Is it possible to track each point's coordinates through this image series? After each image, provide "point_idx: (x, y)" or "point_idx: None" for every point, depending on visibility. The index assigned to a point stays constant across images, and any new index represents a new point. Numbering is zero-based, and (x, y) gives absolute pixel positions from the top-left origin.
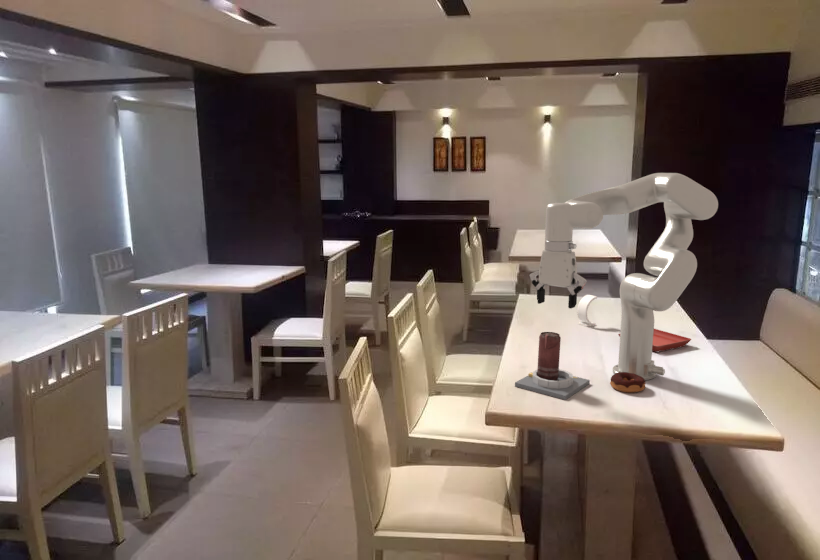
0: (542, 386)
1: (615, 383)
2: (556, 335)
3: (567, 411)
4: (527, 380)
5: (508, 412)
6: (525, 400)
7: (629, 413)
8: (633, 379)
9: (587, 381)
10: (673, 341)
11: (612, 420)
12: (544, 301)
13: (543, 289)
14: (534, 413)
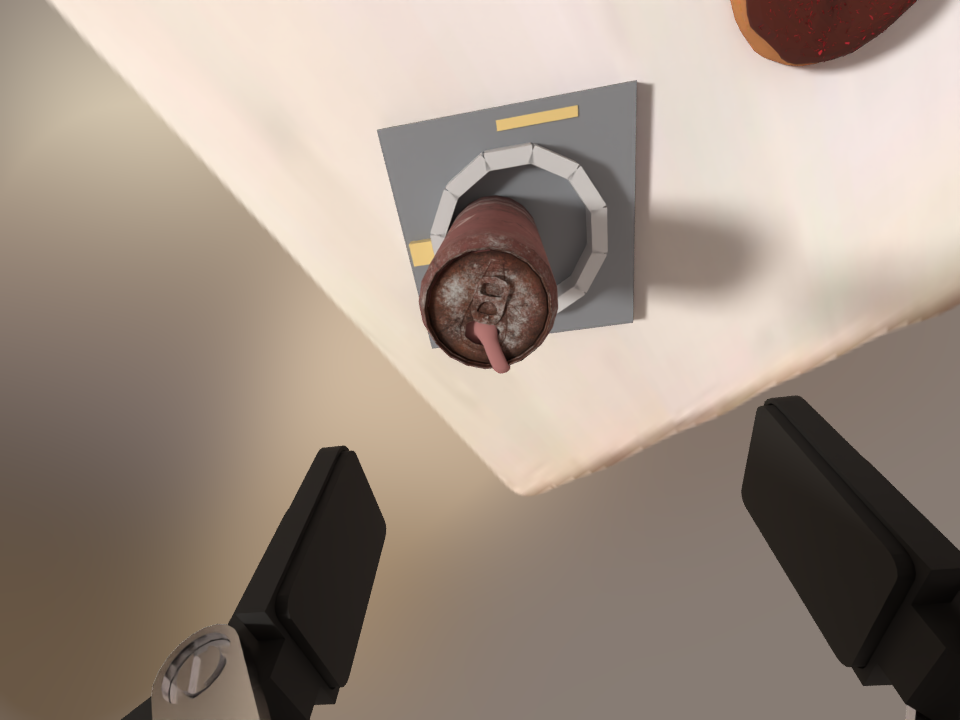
0: None
1: (788, 61)
2: (522, 283)
3: (675, 380)
4: None
5: (550, 479)
6: (534, 400)
7: (869, 254)
8: None
9: (635, 108)
10: None
11: (821, 342)
12: (353, 453)
13: (285, 631)
14: (605, 445)
